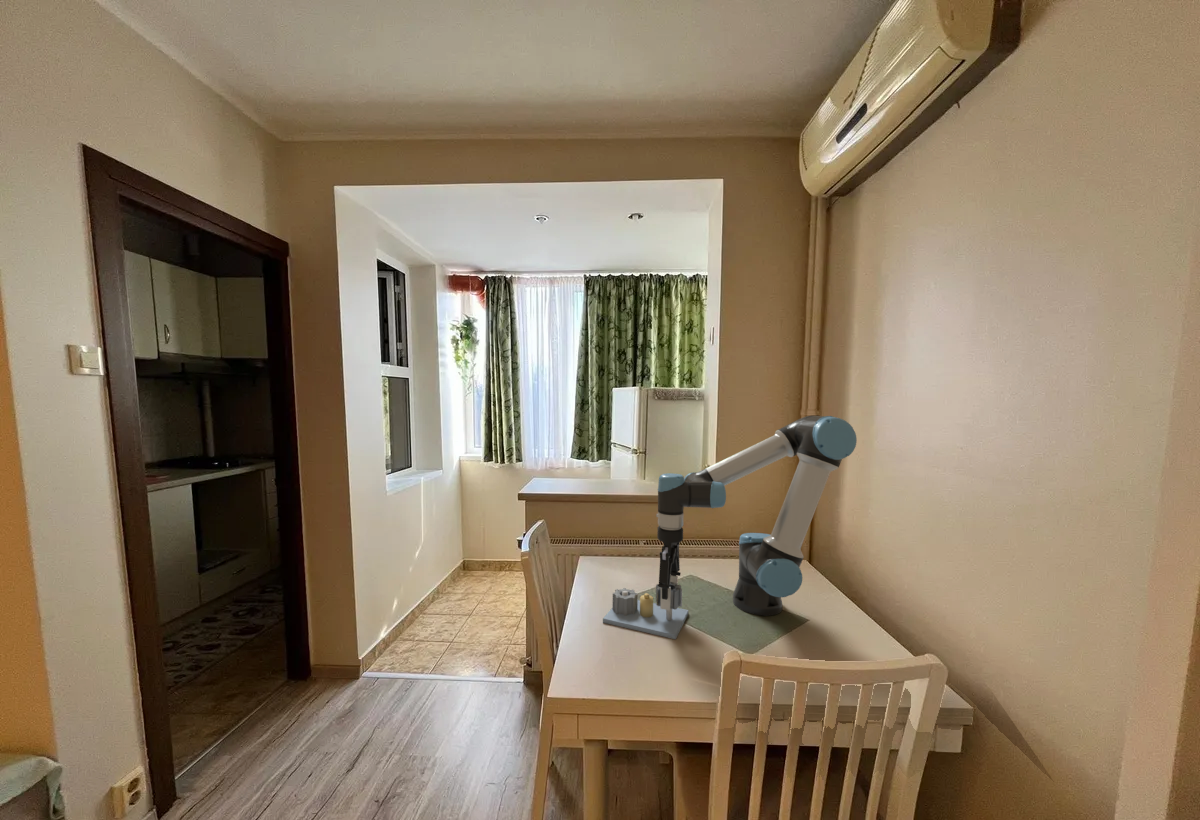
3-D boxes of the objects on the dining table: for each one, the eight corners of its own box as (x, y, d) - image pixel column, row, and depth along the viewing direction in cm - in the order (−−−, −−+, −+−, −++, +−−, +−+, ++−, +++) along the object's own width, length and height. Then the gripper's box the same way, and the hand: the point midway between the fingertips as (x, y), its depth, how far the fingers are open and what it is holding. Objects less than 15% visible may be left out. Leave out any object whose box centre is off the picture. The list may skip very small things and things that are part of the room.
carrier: (688, 613, 135) (688, 590, 135) (675, 639, 121) (675, 613, 121) (622, 600, 144) (622, 578, 144) (602, 622, 130) (603, 598, 130)
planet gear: (654, 597, 134) (655, 581, 133) (679, 598, 133) (679, 582, 133) (657, 609, 126) (657, 592, 126) (683, 609, 126) (683, 592, 126)
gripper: (667, 516, 140) (666, 587, 141) (647, 534, 121) (646, 615, 122) (690, 519, 137) (689, 591, 138) (674, 538, 118) (672, 621, 119)
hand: (669, 602), depth 130 cm, fingers closed on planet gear, 8 cm apart
